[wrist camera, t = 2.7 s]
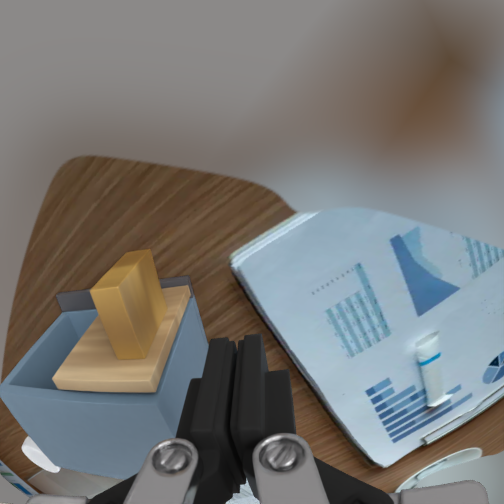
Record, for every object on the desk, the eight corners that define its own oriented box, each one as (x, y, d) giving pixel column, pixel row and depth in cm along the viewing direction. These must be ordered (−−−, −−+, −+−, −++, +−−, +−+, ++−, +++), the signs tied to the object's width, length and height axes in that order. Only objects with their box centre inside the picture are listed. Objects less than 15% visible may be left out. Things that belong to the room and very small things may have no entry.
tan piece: (97, 244, 21) (17, 312, 12) (174, 229, 21) (118, 302, 12) (117, 303, 23) (58, 389, 14) (191, 294, 22) (156, 392, 13)
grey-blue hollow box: (58, 292, 24) (-17, 370, 13) (189, 274, 23) (144, 379, 12) (99, 379, 27) (54, 465, 17) (217, 375, 26) (203, 485, 16)
